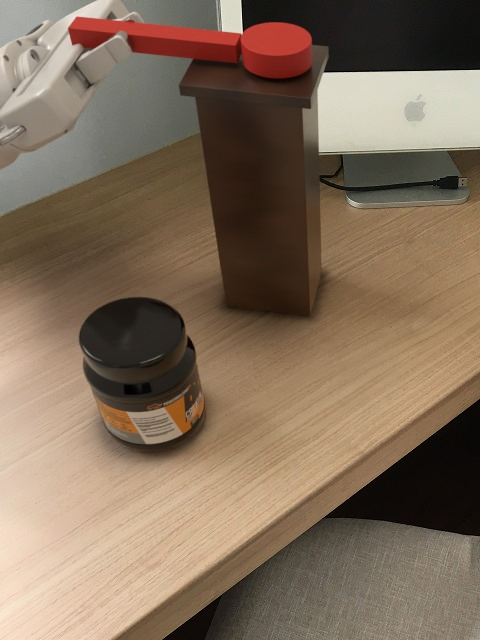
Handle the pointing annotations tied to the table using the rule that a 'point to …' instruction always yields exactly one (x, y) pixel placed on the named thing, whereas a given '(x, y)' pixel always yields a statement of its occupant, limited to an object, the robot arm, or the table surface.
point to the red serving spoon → (209, 43)
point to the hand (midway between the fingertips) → (134, 31)
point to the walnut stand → (262, 180)
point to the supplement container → (143, 373)
